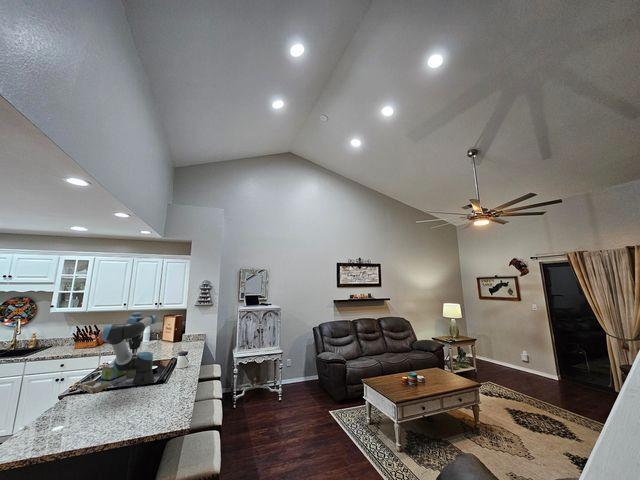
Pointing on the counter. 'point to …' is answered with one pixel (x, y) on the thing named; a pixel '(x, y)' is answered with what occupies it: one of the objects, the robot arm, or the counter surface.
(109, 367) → the tea box
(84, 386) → the bay
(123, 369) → the robot arm
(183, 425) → the counter surface
